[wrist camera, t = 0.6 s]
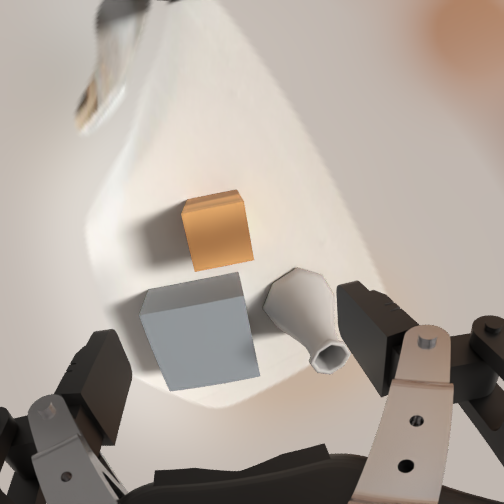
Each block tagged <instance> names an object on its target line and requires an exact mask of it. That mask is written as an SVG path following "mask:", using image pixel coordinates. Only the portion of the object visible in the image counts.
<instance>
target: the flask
mask: <svg viewBox="0 0 504 504" xmlns="http://www.w3.org/2000/svg"><path fill="white" fill-rule="evenodd" d="M334 306H335V298H334V294H333V292H332V290H331V288H330V287H329V285H328V283H327V282H326V280H325V278H324V277H323V275H321V274H318V273H314V272H311V271H308V270H305V269H301V268H298V267H297V268H296V269H294V270H293V271H291V272H290V273H288V274H287V275H285V276H283V277H282V278H280V279H279V280H277V281H276V282H274V283H273V284H272V287H271V289H270V291H269V294H268V296H267V299H266V301H265V303H264V306H263V309H264V311H265V312H266V313H267V315H268V316H269V317H270V319H271V320H272V321H273V323H274V324H275V325H276V326H277V327H278V328H279V329H280V330H282V331H284V332H285V333H287V334H288V335H290V336H291V337H293V338H294V339H296V340H297V341H298V342H300V343H301V344H302V345H304V346H305V347H306V349H307V350H308V352H309V354H310V356H311V357H310V359H309V363H310V364H311V365H312V367H313V368H314V369H315V371H316V372H317V373H323V374H332V373H333V372H335V371H337V370H338V369H340V368H342V367H343V366H344V365H345V363H346V361H347V360H348V358H349V356H350V355H351V353H350V351H349V350H348V348H347V347H346V345H345V343H344V342H343V341H339V340H338V337H337V333H336V330H335V315H334Z"/></svg>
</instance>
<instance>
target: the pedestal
mask: <svg viewBox="0 0 504 504" xmlns="http://www.w3.org/2000/svg"><path fill="white" fill-rule="evenodd" d="M139 317H140V320H141V322H142V325H143V328H144V330H145V333H146V335H147V338H148V340H149V343H150V346H151V348H152V351H153V353H154V355H155V358H156V360H157V363H158V365H159V367H160V370H161V372H162V374H163V377H164V379H165V381H166V384H167V386H168V388H169V390H170V391H176V390H184V389H191V388H198V387H204V386H210V385H216V384H222V383H228V382H233V381H239V380H244V379H249V378H254V377H259V376H260V373H259V368H258V363H257V358H256V353H255V349H254V344H253V339H252V334H251V329H250V324H249V319H248V314H247V309H246V304H245V299H244V295H243V290H242V286H241V282H240V277H239V273H238V272H236V273H231V274H226V275H221V276H216V277H211V278H206V279H201V280H196V281H191V282H185V283H180V284H175V285H170V286H165V287H159V288H154V289H149V290H148V292H147V295H146V297H145V300H144V303H143V305H142V308H141V311H140V314H139Z"/></svg>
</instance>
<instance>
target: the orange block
mask: <svg viewBox="0 0 504 504" xmlns="http://www.w3.org/2000/svg"><path fill="white" fill-rule="evenodd" d="M181 215H182V220H183V224H184V228H185V233H186V237H187V241H188V246H189V250H190V254H191V258H192V262H193V266H194V270H195V272H197V271H202V270H207V269H212V268H217V267H222V266H227V265H232V264H237V263H242V262H247V261H252V260H254V257H253V252H252V246H251V240H250V234H249V229H248V223H247V217H246V212H245V206H244V201H243V199H242V198H241V196H240V194H239V192H238V191H237V190H232V191H227V192H222V193H216V194H211V195H207V196H202V197H197V198H192V199H187V201H186V203H185V206H184V208H183V211H182V213H181Z"/></svg>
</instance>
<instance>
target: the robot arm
mask: <svg viewBox="0 0 504 504" xmlns="http://www.w3.org/2000/svg"><path fill="white" fill-rule="evenodd" d="M165 1H168V0H165ZM337 310H338V327H339V331H340V335H341V337H342V339H343V341H344V342H345V344H346V345H347V347H348V348H349V350H350V351H351V353H352V354H353V356H354V357H355V359H356V360H357V361H358V363H359V365H360V366H361V367H362V369H363V371H364V372H365V374H366V375H367V377H368V378H369V380H370V381H371V383H372V384H373V385H374V387H375V389H376V390H377V392H378V393H379V395H380V396H381V397H383V396H386V395H388V397H387V401H386V404H385V408H384V411H383V414H382V418H381V421H380V424H379V427H378V430H377V433H376V436H375V439H374V442H373V445H372V448H371V450H370V453H369V456H368V457H365V456H360V455H354V454H329V453H328V451H327V448H326V446H325V444H320V445H317V446H313V447H310V448H306V449H302V450H298V451H293V452H289V453H285V454H282V455H279V456H277V457H275V458H272V459H270V460H267V461H265V462H263V463H260V464H258V465H255V466H253V467H250V468H248V469H245V470H242V471H220V470H208V469H199V468H189V469H176V470H156V471H155V475H154V482H153V483H149V484H147V485H144V486H141V487H139V488H137V489H134V490H133V491H131V492H129V493H128V491H127V490H126V489H125V487H124V486H123V485H122V483H121V482H120V480H119V479H118V477H117V476H116V474H115V473H114V471H113V470H112V468H111V467H110V465H109V464H108V462H107V460H106V459H105V457H104V456H103V455H102V453H101V452H100V449H101V446H104V445H105V446H106V445H107V446H113V445H115V442H116V438H117V434H118V430H119V426H120V421H121V418H122V414H123V410H124V406H125V402H126V398H127V395H128V391H129V387H130V384H131V381H132V370H131V366H130V363H129V361H128V358H127V356H126V354H125V351H124V349H123V347H122V344H121V342H120V340H119V337H118V335H117V333H116V331H115V330H113V329H109V330H103V331H96V332H94V333H93V334H92V335H91V337H90V339H89V341H88V343H87V345H86V346H84V347H83V348H82V349H81V350H80V351H79V352H77V353H76V354H75V356H74V358H73V360H72V361H71V365H69V367H68V369H67V370H66V371H67V372H66V373H65V374H64V376H63V378H62V380H61V382H60V384H59V385H58V388H57V389H56V391H55V393H54V394H51V395H46V396H44V397H41V398H40V399H38V400H37V401H35V402H34V403H33V404H32V406H31V407H30V409H29V411H28V415H27V416H23V417H19V418H15V419H13V417H12V416H11V414H10V413H9V412H8V410H7V409H6V408H4V407H0V471H1V469H2V466H3V464H4V461H6V462H7V463H8V464H9V465H10V467H12V469H13V470H14V471H15V472H14V475H13V478H12V481H11V484H10V487H9V490H8V493H7V495H5V494H4V493H3V492H2V490H1V489H0V504H46V503H47V504H504V502H499V501H495V500H491V499H487V498H483V497H480V496H476V495H472V494H469V493H465V492H462V491H459V490H456V489H452V488H449V487H446V486H443V485H442V482H443V476H444V470H445V465H446V459H447V453H448V446H449V438H450V430H451V420H452V408H453V404H454V403H458V404H459V405H460V406H461V408H462V409H463V410H464V412H465V413H466V414H467V416H468V417H469V418H470V420H471V421H472V423H473V424H474V425H475V427H476V428H477V429H478V430H479V432H480V434H481V435H482V436H483V437H484V439H485V440H486V442H487V443H488V445H489V446H490V447H491V449H492V450H493V452H494V453H495V455H496V456H497V458H498V459H499V461H500V462H501V463H502V465H503V466H504V391H503V390H502V388H501V387H500V386H499V385H498V384H497V383H496V382H497V380H498V377H499V376H500V377H501V378H502V379H503V381H504V319H503V318H500V317H497V316H482V317H479V318H477V319H476V320H475V321H474V322H473V325H472V330H471V333H470V334H464V335H457V336H449V334H448V332H446V331H445V330H444V329H442V328H440V327H438V326H434V325H419V324H418V323H417V322H416V321H414V320H413V319H412V318H411V317H410V316H409V315H408V314H407V313H406V312H405V311H404V310H402V309H400V307H399V306H398V305H397V304H395V303H394V302H393V301H392V300H391V299H390V298H389V297H388V296H387V295H385V294H383V293H380V292H378V291H375V290H372V291H369V290H368V289H367V288H366V287H365V286H364V285H363V284H361V283H360V282H359V281H354V282H349V283H345V284H341V285H338V286H337Z"/></svg>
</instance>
